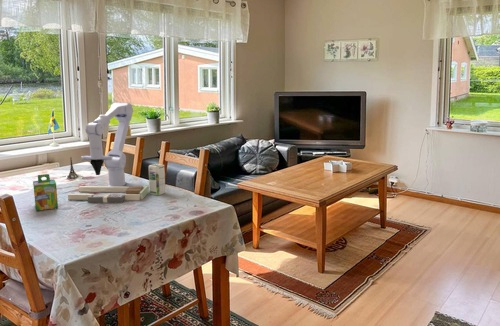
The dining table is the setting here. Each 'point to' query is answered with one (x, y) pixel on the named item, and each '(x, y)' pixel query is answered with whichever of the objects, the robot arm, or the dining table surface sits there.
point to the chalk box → (45, 193)
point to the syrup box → (157, 179)
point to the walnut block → (134, 189)
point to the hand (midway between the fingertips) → (98, 174)
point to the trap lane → (107, 197)
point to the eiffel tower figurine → (73, 173)
